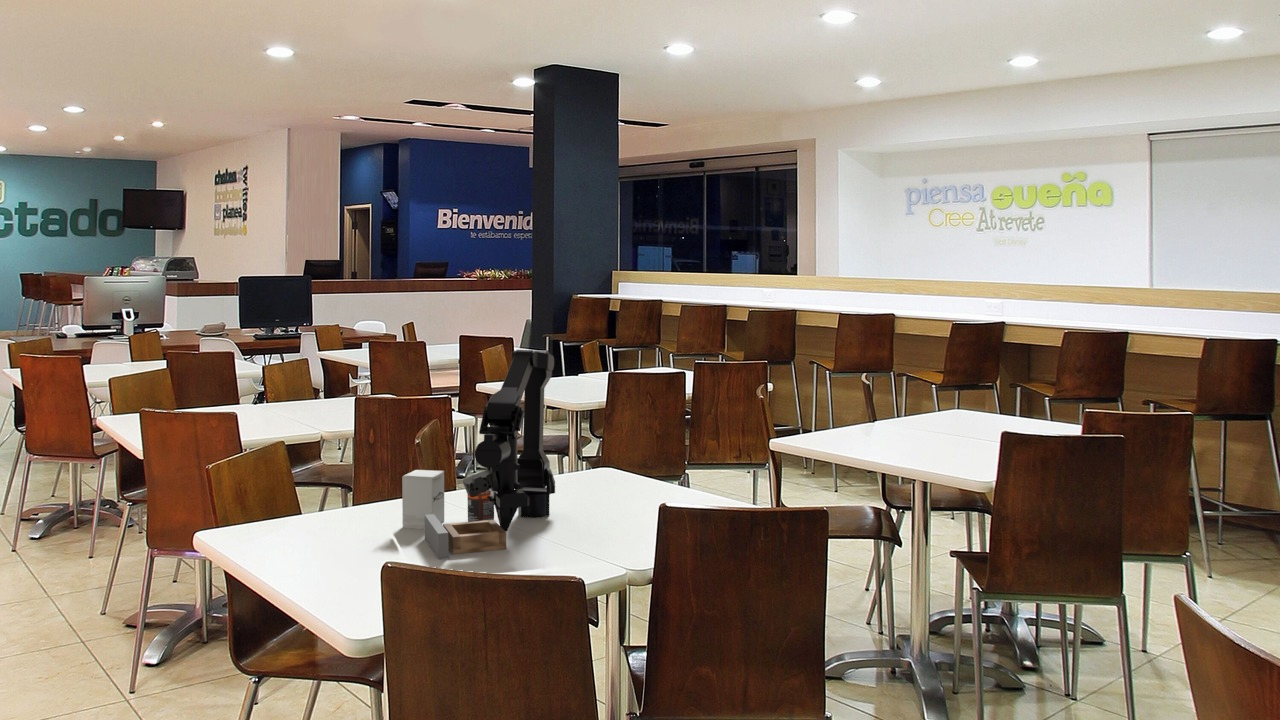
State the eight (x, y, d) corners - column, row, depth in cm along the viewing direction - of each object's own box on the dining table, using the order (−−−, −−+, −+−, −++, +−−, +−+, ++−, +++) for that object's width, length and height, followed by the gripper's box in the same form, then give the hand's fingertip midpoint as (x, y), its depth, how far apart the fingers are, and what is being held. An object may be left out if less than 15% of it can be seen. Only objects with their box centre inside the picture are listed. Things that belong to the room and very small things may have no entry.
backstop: (521, 533, 223) (521, 506, 222) (541, 552, 208) (541, 524, 208) (424, 542, 215) (424, 514, 215) (438, 563, 200) (438, 533, 200)
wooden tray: (493, 535, 218) (493, 519, 218) (506, 548, 208) (506, 532, 208) (443, 540, 214) (443, 524, 214) (453, 554, 204) (453, 537, 204)
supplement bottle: (499, 526, 229) (498, 477, 227) (486, 533, 223) (486, 483, 222) (475, 524, 230) (475, 475, 229) (462, 530, 225) (462, 480, 224)
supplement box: (432, 533, 223) (432, 477, 221) (401, 531, 224) (400, 475, 223) (445, 524, 230) (445, 470, 229) (415, 522, 231) (414, 468, 230)
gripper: (456, 453, 217) (457, 523, 219) (476, 470, 200) (476, 546, 201) (506, 450, 221) (507, 519, 223) (530, 466, 204) (530, 541, 206)
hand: (504, 531), depth 213 cm, fingers closed
